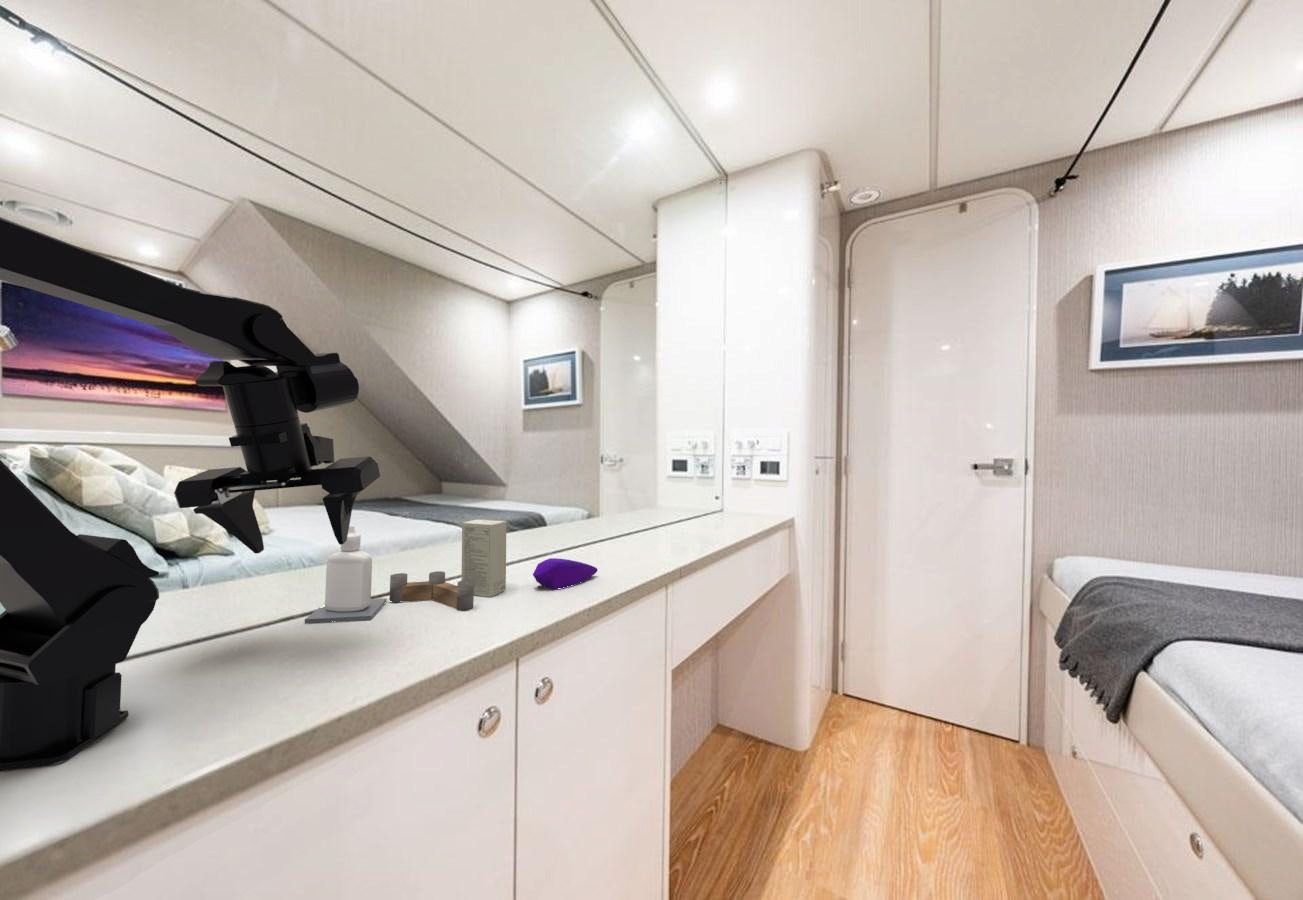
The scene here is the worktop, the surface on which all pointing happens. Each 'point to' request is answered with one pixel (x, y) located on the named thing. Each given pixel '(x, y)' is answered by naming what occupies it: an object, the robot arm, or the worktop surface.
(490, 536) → the skincare box
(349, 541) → the eye dropper bottle
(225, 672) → the worktop surface
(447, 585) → the rail
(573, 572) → the purple faceted pebble
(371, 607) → the coaster
